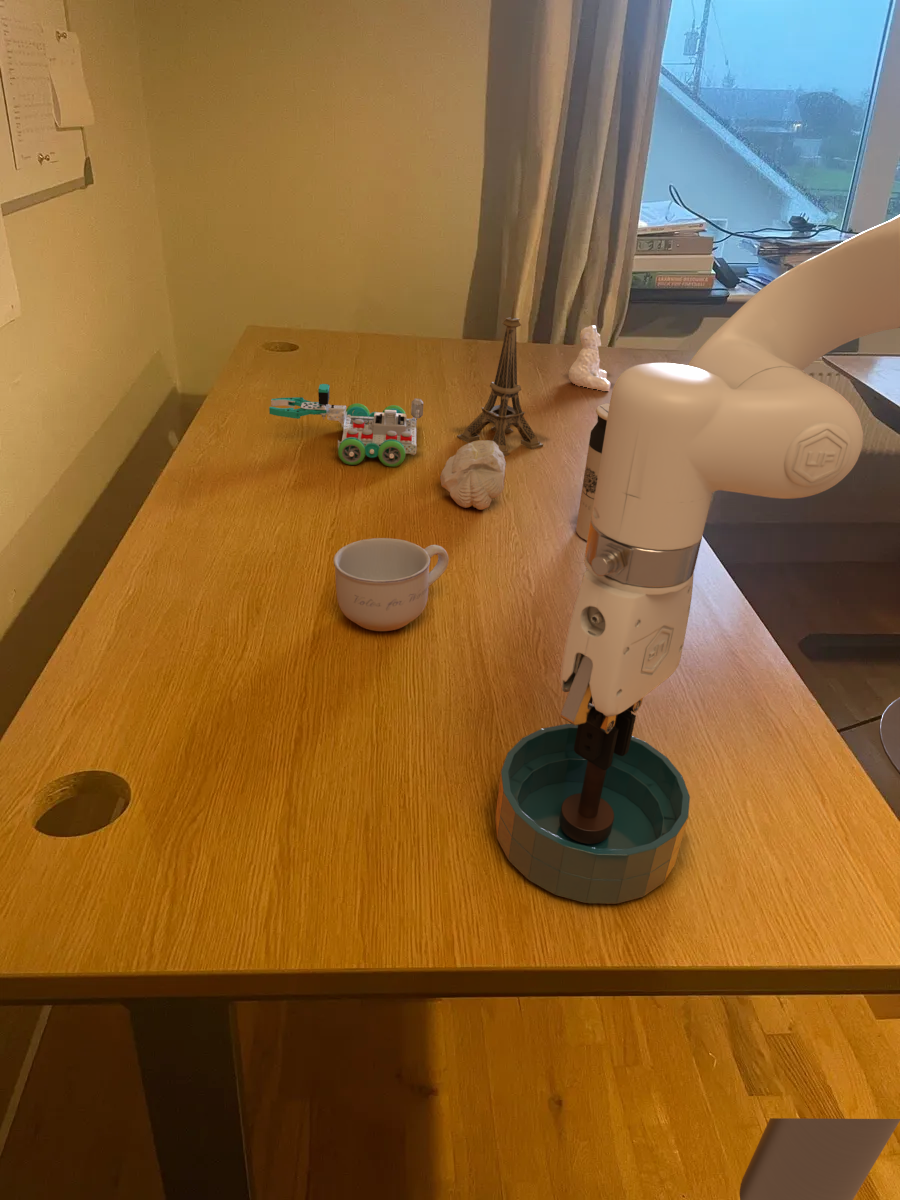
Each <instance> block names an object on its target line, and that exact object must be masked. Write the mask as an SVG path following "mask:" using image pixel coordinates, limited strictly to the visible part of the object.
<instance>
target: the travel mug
mask: <svg viewBox="0 0 900 1200" xmlns="http://www.w3.org/2000/svg"><path fill="white" fill-rule="evenodd" d="M609 405H610V402H606V403H602V404H600V405H598V406H596V409H595V413H596V415H597V422H596V423H595V425H594V426H593V428H591V430H590V436H589V442H588V448H587V453H586V462H585V466H584V467H585V468H584V473H583V480H582V485H581V486H582V487H581V493H580V501H579V505H578V506H579V507H578V513H577V519H576V525H575V526H576V527H575V532H576V534H577V535H578V536H579V537H580V538H581V539H583V540H585V541H586V542H587V539H588V533H589V527H590V521H591V516H592V510H593V504H594V498H595V492H596V486H597V480H598V473H599V467H600V461H601V455H602V449H603V443H604V436H605V430H606V424H607V418H608V412H609Z"/></svg>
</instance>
